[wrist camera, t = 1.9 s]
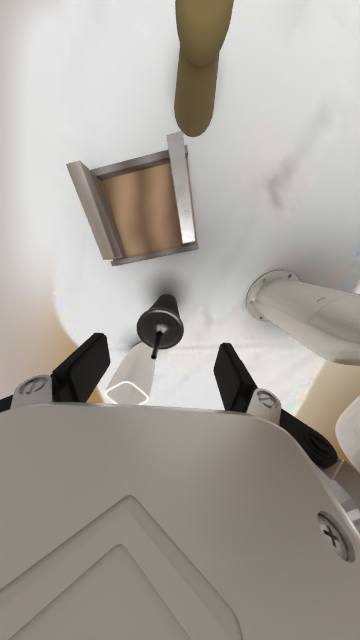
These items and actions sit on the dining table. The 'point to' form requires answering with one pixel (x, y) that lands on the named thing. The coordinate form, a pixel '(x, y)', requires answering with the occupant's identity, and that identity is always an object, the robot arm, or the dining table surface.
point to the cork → (199, 60)
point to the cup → (133, 377)
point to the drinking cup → (161, 325)
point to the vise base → (132, 208)
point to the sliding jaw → (181, 186)
